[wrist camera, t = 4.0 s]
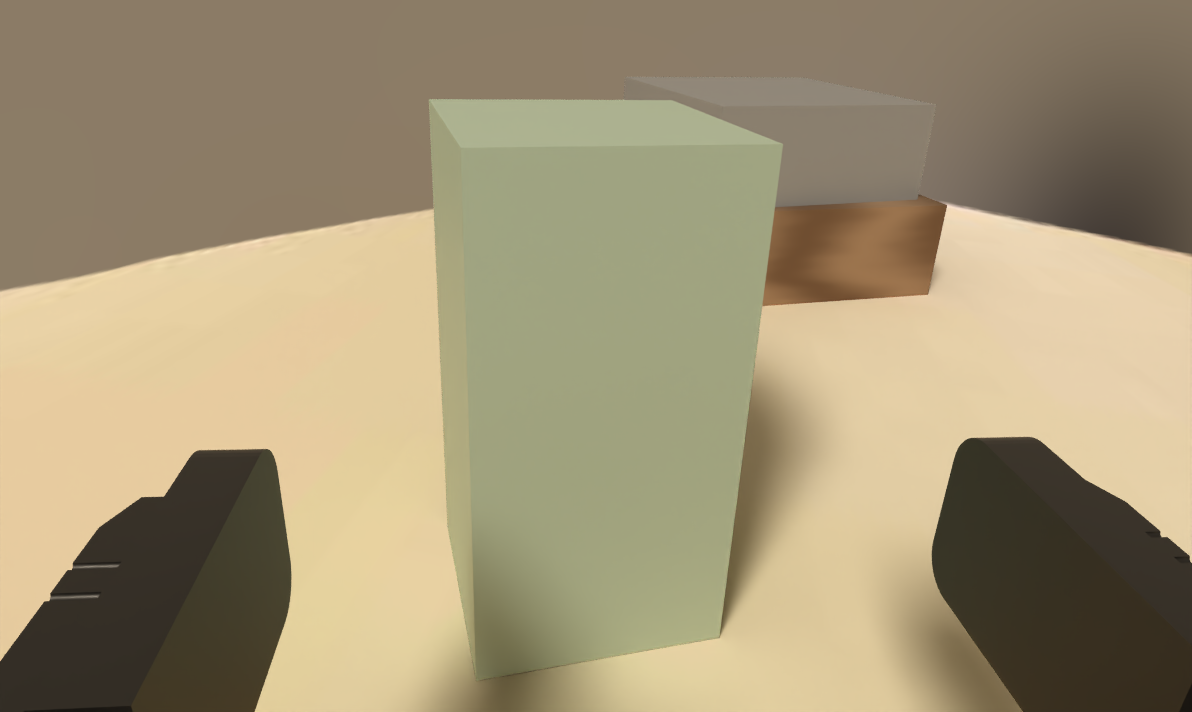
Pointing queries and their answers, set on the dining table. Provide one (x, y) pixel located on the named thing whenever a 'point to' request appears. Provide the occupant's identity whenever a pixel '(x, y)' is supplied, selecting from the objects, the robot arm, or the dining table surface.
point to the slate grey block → (815, 132)
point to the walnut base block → (852, 251)
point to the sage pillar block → (595, 367)
